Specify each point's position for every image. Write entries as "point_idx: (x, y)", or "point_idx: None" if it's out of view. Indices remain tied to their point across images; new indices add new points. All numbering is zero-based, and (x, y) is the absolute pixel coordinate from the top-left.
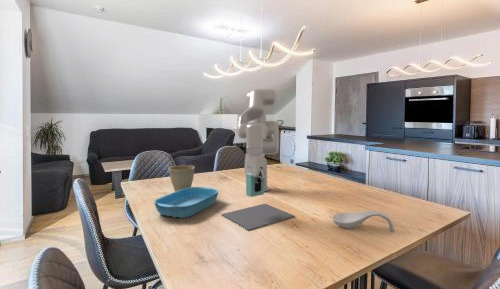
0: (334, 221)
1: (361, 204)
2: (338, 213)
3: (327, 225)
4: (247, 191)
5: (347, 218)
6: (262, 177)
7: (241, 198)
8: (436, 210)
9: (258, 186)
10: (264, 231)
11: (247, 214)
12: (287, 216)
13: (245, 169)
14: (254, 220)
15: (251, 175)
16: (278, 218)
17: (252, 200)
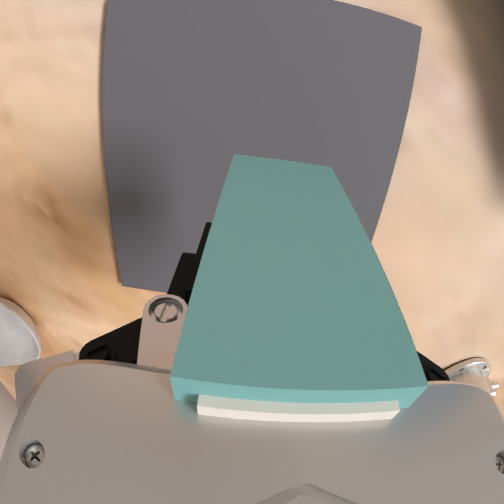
0: (5, 303)
1: None
2: (39, 350)
3: (26, 289)
4: (314, 179)
5: (31, 343)
6: (25, 377)
7: (481, 286)
8: None
9: (173, 284)
10: (63, 65)
11: (297, 125)
12: (129, 259)
13: (488, 468)
14: (184, 90)
15: (171, 376)
16: (129, 212)
17: (428, 303)
